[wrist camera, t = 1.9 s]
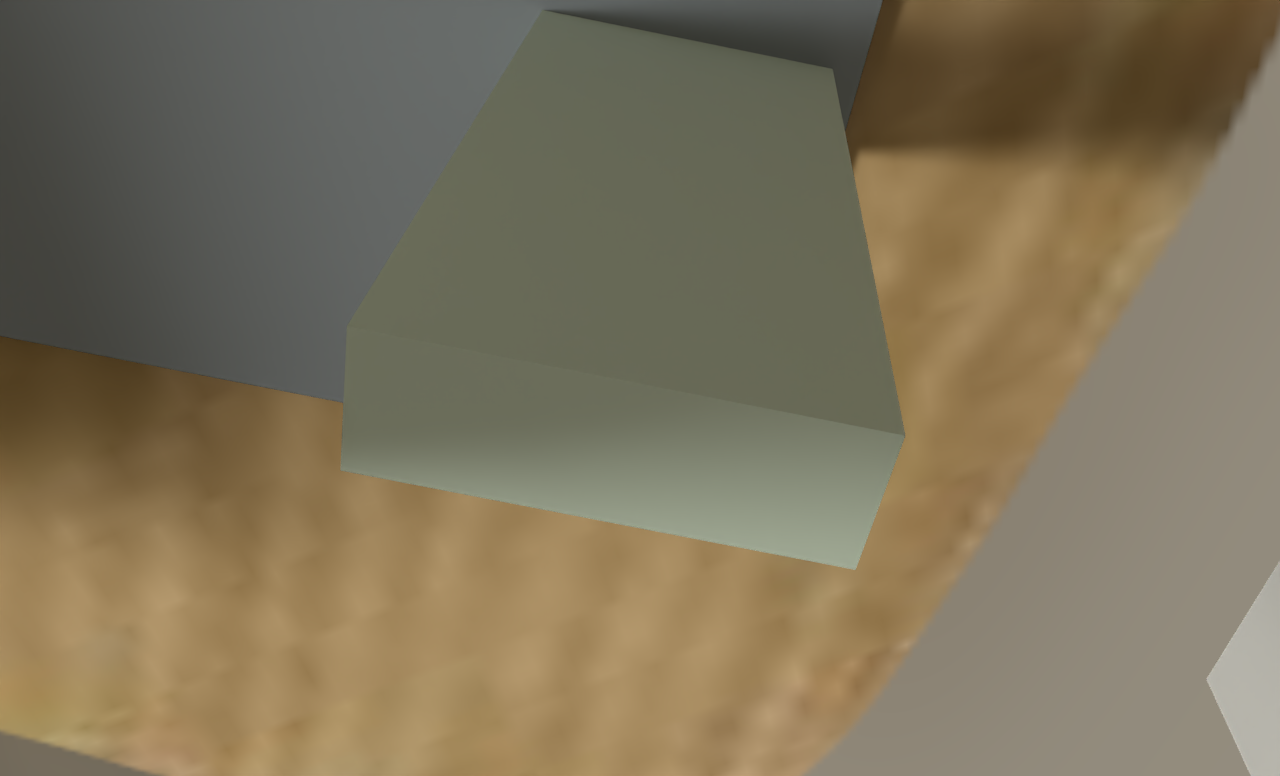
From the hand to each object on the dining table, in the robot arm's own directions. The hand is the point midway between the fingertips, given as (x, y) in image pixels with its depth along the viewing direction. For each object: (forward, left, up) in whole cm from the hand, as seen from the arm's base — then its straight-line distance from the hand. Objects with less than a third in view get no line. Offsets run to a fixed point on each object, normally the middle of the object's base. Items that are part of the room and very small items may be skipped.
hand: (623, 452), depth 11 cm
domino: (0, 0, -11) cm, 11 cm away
